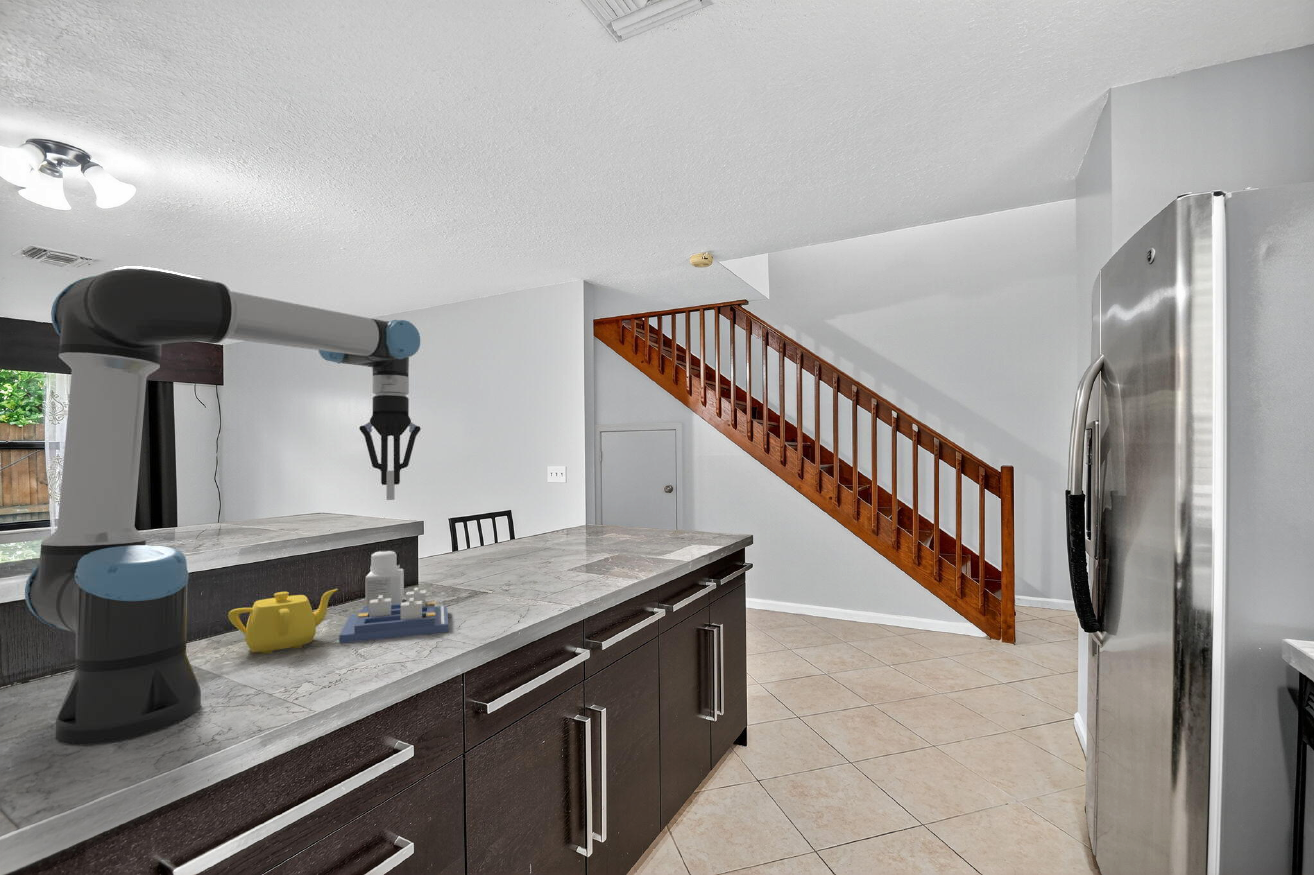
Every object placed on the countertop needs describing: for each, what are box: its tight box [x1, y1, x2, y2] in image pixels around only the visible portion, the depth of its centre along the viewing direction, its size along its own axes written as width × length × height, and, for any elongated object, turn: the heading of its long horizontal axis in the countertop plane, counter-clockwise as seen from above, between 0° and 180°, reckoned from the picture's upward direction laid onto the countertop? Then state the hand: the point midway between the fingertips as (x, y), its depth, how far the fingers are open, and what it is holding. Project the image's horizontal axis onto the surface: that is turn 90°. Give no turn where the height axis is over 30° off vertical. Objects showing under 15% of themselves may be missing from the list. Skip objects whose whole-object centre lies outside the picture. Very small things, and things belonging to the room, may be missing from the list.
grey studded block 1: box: [405, 587, 427, 606], centre depth 133 cm, size 4×3×5 cm
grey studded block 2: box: [401, 598, 422, 620], centre depth 123 cm, size 4×3×5 cm
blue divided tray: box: [338, 600, 449, 644], centre depth 127 cm, size 20×16×3 cm
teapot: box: [227, 588, 339, 655], centre depth 115 cm, size 14×13×10 cm
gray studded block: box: [369, 595, 391, 617], centre depth 126 cm, size 4×3×5 cm
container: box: [364, 549, 405, 607], centre depth 146 cm, size 8×8×13 cm
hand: (390, 499), depth 135 cm, fingers closed
